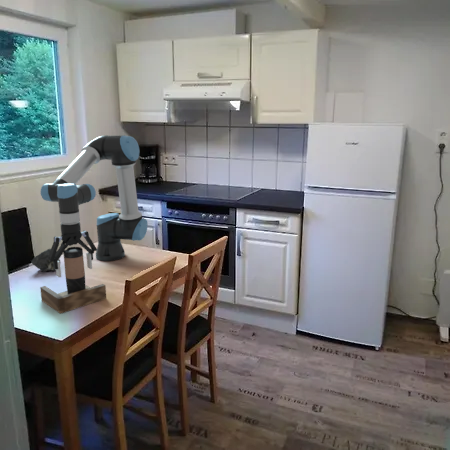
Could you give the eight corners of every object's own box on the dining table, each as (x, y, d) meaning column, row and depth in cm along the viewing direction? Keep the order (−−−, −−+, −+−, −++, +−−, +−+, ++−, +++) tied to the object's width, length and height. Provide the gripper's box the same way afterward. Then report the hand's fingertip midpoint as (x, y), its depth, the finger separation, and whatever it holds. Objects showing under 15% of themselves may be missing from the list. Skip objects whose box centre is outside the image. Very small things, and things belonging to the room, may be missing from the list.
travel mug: (87, 296, 182) (84, 251, 177) (68, 299, 179) (64, 253, 174) (84, 289, 189) (81, 245, 183) (66, 292, 186) (62, 248, 180)
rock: (54, 258, 224) (50, 244, 217) (67, 267, 220) (63, 253, 213) (34, 273, 216) (29, 259, 209) (47, 282, 212) (42, 267, 205)
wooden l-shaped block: (86, 287, 194) (85, 274, 193) (106, 298, 183) (105, 285, 181) (41, 300, 181) (40, 287, 179) (60, 313, 169) (58, 299, 167)
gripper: (93, 215, 187) (97, 262, 192) (35, 226, 170) (41, 277, 175) (102, 218, 182) (106, 266, 187) (43, 229, 165) (49, 282, 170)
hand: (74, 272), depth 181 cm, fingers open, 13 cm apart
